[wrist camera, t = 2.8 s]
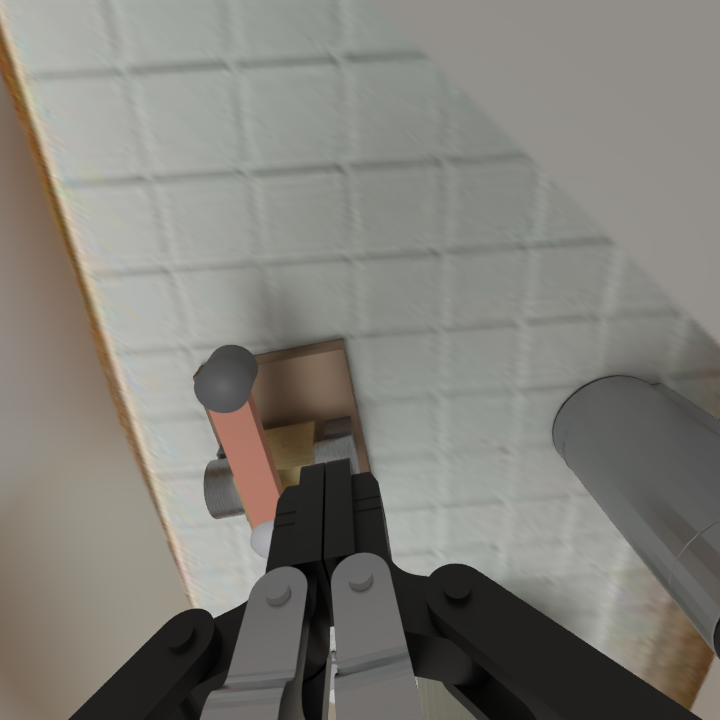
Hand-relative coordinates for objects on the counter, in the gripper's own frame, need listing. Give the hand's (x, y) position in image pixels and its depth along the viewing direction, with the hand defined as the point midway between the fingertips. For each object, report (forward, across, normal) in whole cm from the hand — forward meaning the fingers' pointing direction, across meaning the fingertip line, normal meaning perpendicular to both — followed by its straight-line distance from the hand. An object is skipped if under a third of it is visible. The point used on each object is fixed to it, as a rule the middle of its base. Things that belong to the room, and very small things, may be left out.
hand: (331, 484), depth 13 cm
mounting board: (+20, +5, +10) cm, 23 cm away
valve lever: (+11, +5, +5) cm, 13 cm away
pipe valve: (+18, +5, +10) cm, 21 cm away
